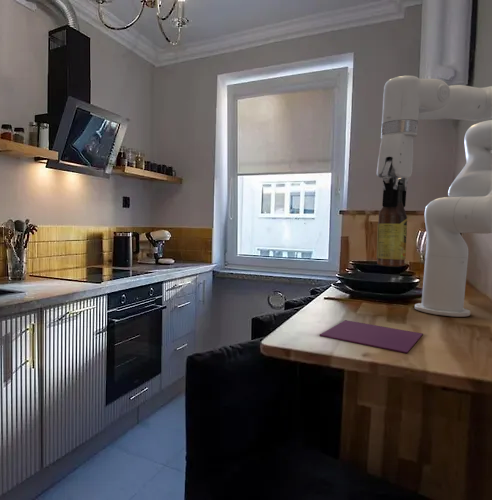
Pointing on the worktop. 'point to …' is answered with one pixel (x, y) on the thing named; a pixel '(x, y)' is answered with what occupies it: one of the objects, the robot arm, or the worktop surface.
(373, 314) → the worktop surface
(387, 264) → the sauce bottle
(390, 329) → the cloth
